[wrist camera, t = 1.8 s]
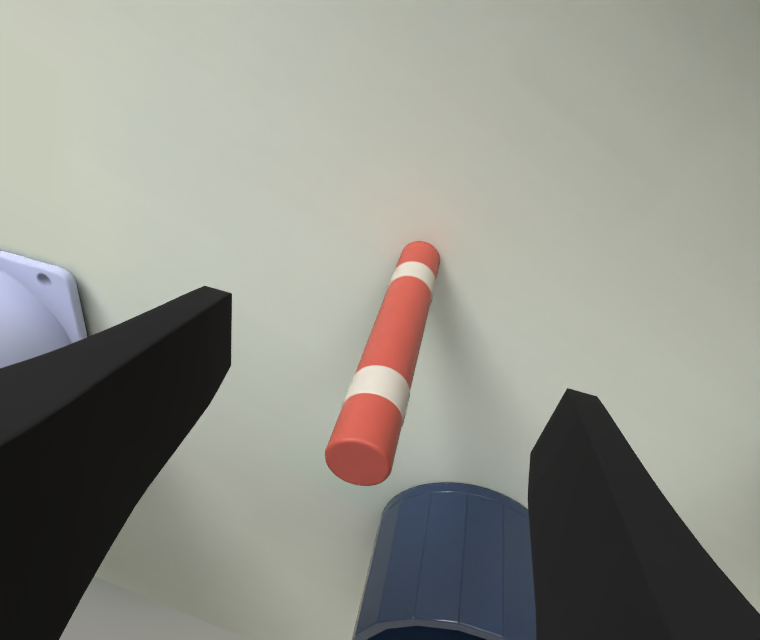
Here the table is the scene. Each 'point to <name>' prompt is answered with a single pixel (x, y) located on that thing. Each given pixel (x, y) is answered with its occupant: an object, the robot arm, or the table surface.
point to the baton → (385, 373)
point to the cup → (449, 568)
